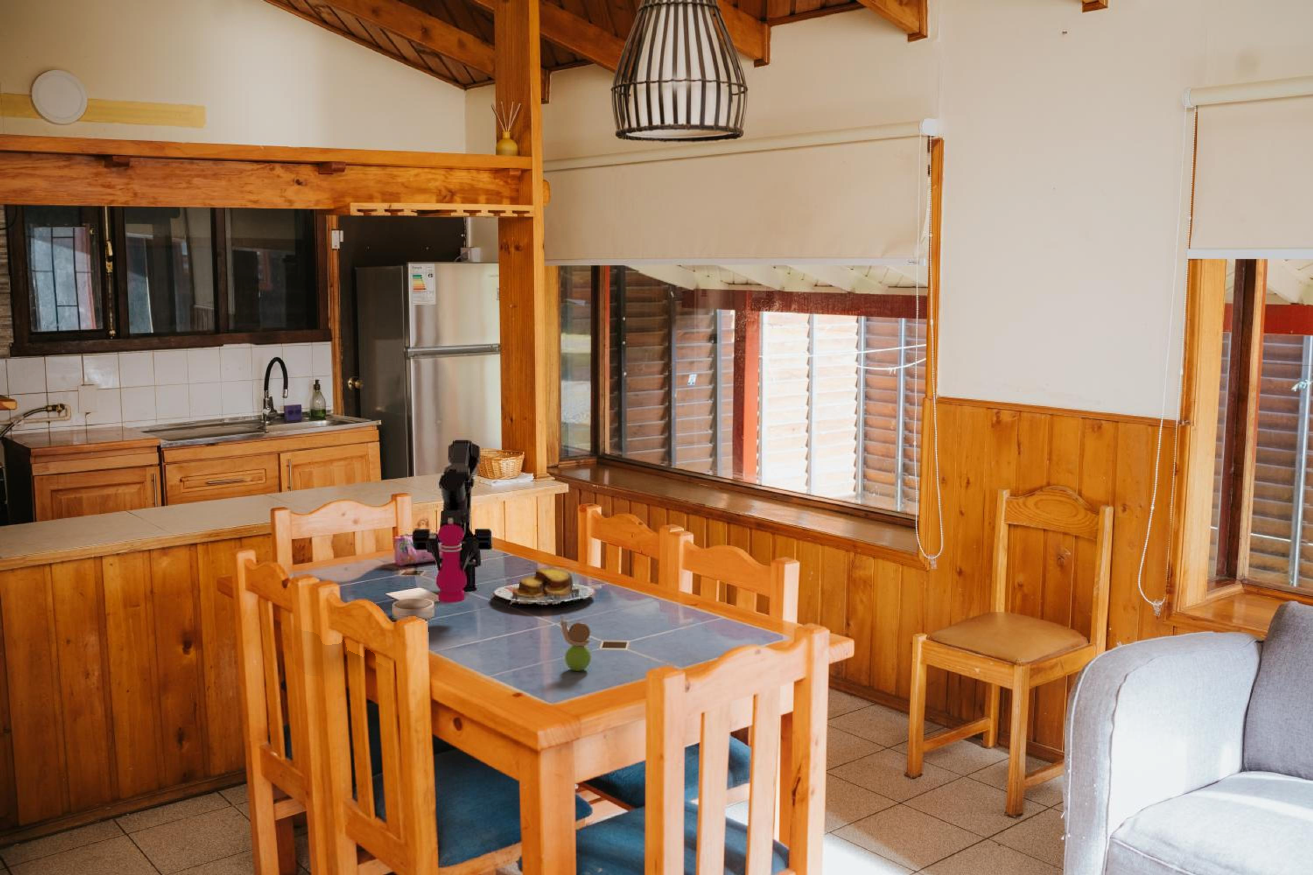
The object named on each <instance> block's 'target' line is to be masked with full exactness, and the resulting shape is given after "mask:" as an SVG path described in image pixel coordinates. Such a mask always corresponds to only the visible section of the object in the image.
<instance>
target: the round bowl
mask: <svg viewBox="0 0 1313 875" xmlns="http://www.w3.org/2000/svg"><path fill="white" fill-rule="evenodd" d="M391 607H392V608H391V609H392V610H391V613H392V616H391V617H392V620H393V619H394V620H395V621H397V619H399V618H405V617H408V616H416V617H418V618H422V619H425V621H428V620H431V619H433V618H434V617H435V602H433V601H431V600H428V599H404V600H400V601H399V600H396V601H395V602H393V603H392V605H391Z"/></svg>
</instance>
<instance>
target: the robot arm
mask: <svg viewBox="0 0 1313 875" xmlns="http://www.w3.org/2000/svg"><path fill="white" fill-rule="evenodd" d="M447 448H448V449H447V461H448V463H449V464H450V465H448V466H446V467H445V468H444V470H443V474H441V475H440V478H439V481H438V487H439V490H440V492H441V497H442V500H443V503H442V504H443V505H442V510H441V511H440V522H439V523H440V524H439V529H440V528H441V527H442V526H443V525H445V524H448V523H449V522H448V519H449V518H452V519H453V522H452V523H453V524H457V525H459V526H461V528H462V529H463V532H464V537H463V539H462V540H461V542H460V543H461V544H462V546H461V548H462V549H461V550H460V562H461V565H462V568H461V569H462V571H463V570H464V572H465V574H466V579H467V584H466V586H465V587H464V588H463V591H465V592H466V591H467V592H468V591H476V590H477V589H478V588H477V586H476V568H478V567H480V566H482V556H481V553H482V552H481V551H483V550H484V551H485V550H487V551H489V550H492V549H493V534H492V530H491V529H490V528H474V533H473V532H472V530H471V520H472V519H471V518H472V517H471V516H472V515H471V514H472V513H471V512H472V490H473V487H474V485H475V479H474V477H475V475H476V474H477V472H478V470H479V469H478V468H479V464H481V460H482V459H481V458H482V455H481V448H480V446H479V445H478V444H476V443H474V442H473V441H472V440H470V439H455V440H452V443H451V444H449V445H448V447H447ZM430 530H431V528H415V529H414V530H413V531H412V540H413V545H414V549H416V550H427V552H428V553H432V555H433V557H434V559H435V561H434V562H435V564H436V568H437V571H438V572H439V571H440V567H441V559H440V551H439V543H442V542H441V541H440V540H439V538H438V534H437V533H436V532H431V531H430Z"/></svg>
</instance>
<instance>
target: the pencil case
mask: <svg viewBox="0 0 1313 875" xmlns="http://www.w3.org/2000/svg"><path fill="white" fill-rule="evenodd" d="M438 532H439V531H437V532H435V533H437V534H438ZM412 534H413V533H412ZM412 534H408V533H404V534H401V535H400V536H395V537H394V543H393V544H394V546H393V547H394V561H395V563H396V565H398V566H408V565H409V566H410V565H415V564H425V563H430V562H435V559H434V557H433V555H432V553H428V552H427V550H416V549H414V545H413V540H412ZM441 544H442V543H439V551H440V560H441V559H442V557H443V555H442V551H441V550H440V548H441V546H440V545H441Z"/></svg>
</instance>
